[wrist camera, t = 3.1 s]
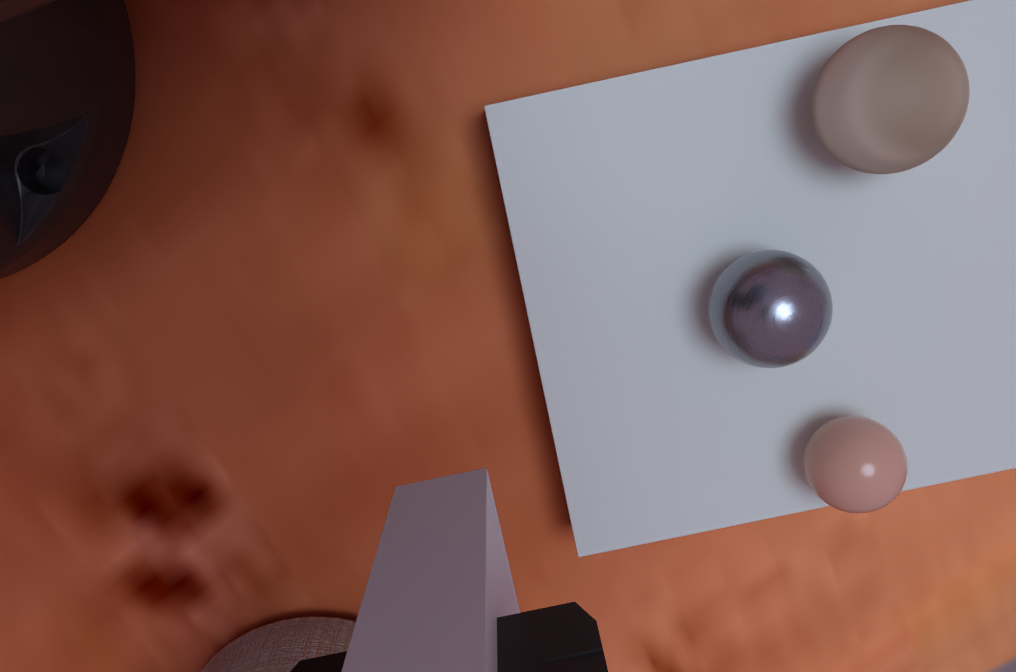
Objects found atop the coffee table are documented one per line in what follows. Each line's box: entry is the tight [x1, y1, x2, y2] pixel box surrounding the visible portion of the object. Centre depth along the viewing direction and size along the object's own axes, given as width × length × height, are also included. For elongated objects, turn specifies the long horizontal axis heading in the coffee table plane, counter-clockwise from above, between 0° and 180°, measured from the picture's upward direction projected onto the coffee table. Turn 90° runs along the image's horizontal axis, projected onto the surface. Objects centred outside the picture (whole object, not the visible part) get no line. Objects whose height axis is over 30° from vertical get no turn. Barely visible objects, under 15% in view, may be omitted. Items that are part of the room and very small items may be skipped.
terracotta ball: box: [803, 416, 908, 513], centre depth 26 cm, size 3×3×3 cm
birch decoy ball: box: [811, 25, 970, 174], centre depth 23 cm, size 4×4×4 cm
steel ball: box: [708, 250, 833, 368], centre depth 24 cm, size 4×4×4 cm
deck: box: [484, 0, 1016, 557], centre depth 27 cm, size 26×15×2 cm, turn 102°
